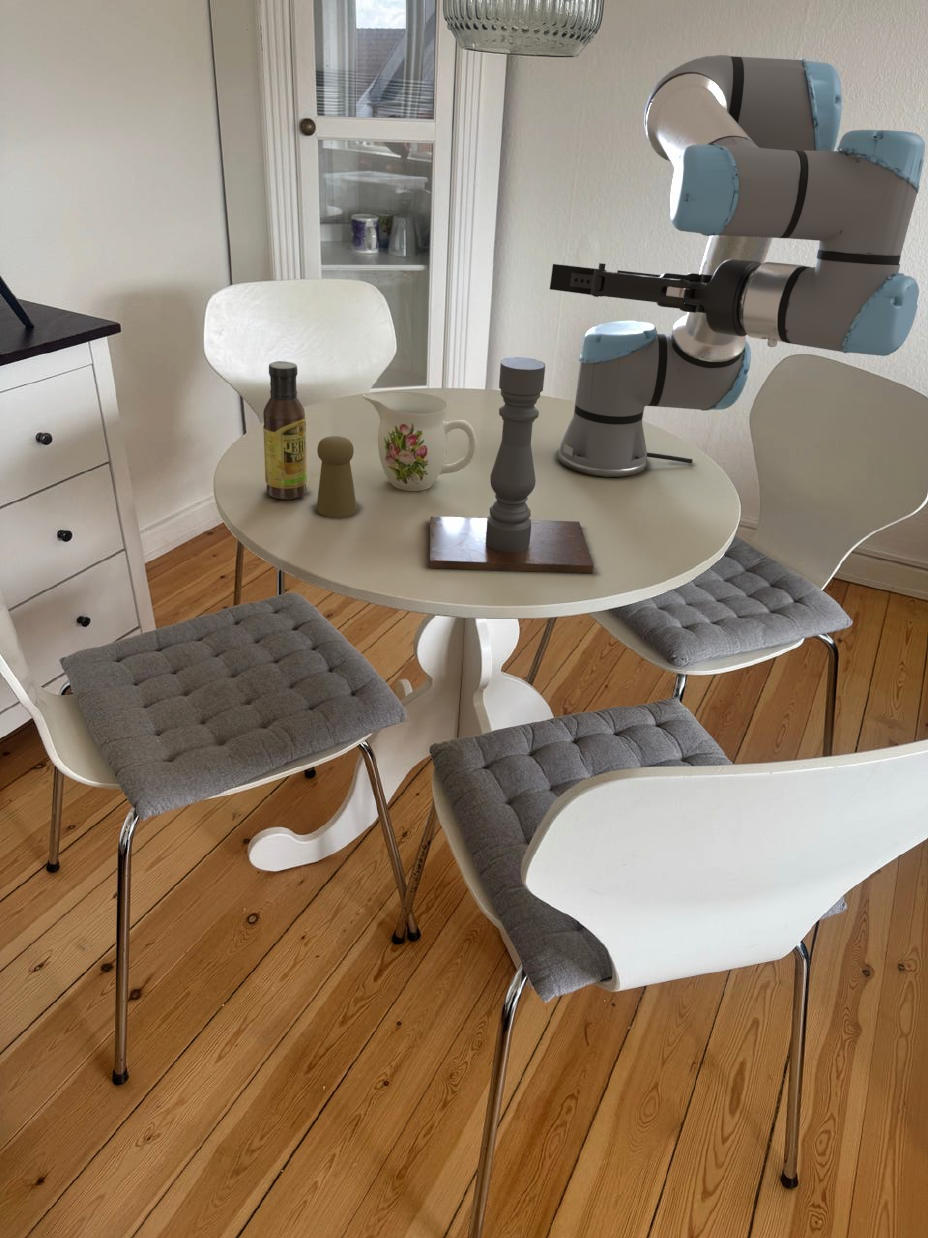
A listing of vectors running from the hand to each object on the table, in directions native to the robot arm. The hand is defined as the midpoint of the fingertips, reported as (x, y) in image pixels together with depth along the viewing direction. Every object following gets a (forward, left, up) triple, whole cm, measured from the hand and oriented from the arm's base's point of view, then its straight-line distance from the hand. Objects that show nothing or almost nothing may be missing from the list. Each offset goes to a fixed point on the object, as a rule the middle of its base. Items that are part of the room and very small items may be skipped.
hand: (586, 279), depth 108 cm
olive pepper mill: (+31, -14, -37) cm, 50 cm away
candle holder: (+6, -2, -36) cm, 37 cm away
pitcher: (+19, -25, -37) cm, 49 cm away
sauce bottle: (+39, -19, -37) cm, 57 cm away
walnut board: (+6, -3, -37) cm, 37 cm away
